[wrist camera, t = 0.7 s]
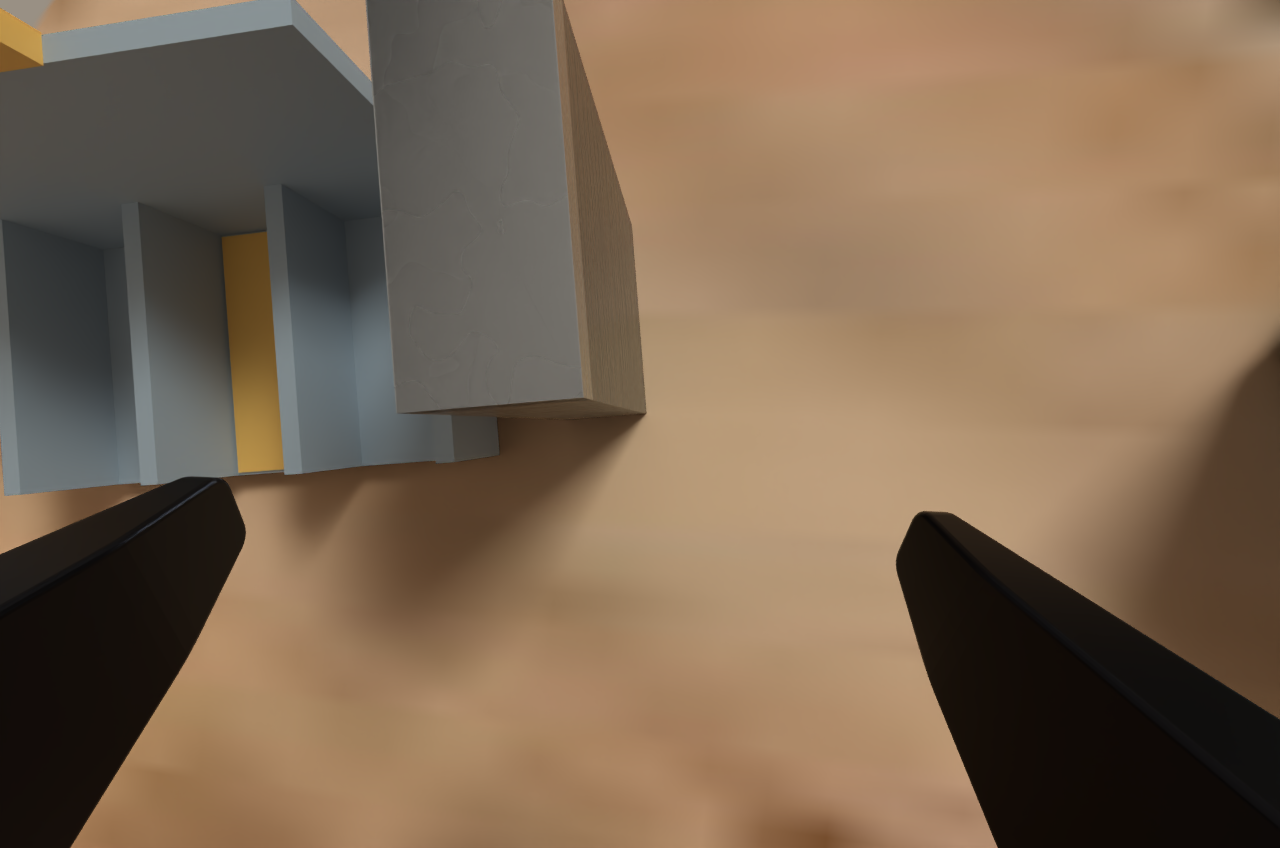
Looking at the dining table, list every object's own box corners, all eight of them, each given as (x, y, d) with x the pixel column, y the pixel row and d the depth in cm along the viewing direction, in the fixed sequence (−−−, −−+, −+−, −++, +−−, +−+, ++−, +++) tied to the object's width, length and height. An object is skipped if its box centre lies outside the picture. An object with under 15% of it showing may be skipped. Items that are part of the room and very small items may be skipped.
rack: (499, 455, 21) (254, 493, 9) (126, 483, 22) (-497, 547, 11) (480, 196, 21) (212, -91, 9) (109, 241, 22) (-526, 41, 11)
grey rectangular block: (647, 413, 20) (583, 397, 9) (566, 420, 21) (396, 413, 9) (632, 225, 21) (549, -52, 9) (552, 234, 21) (364, -21, 9)
